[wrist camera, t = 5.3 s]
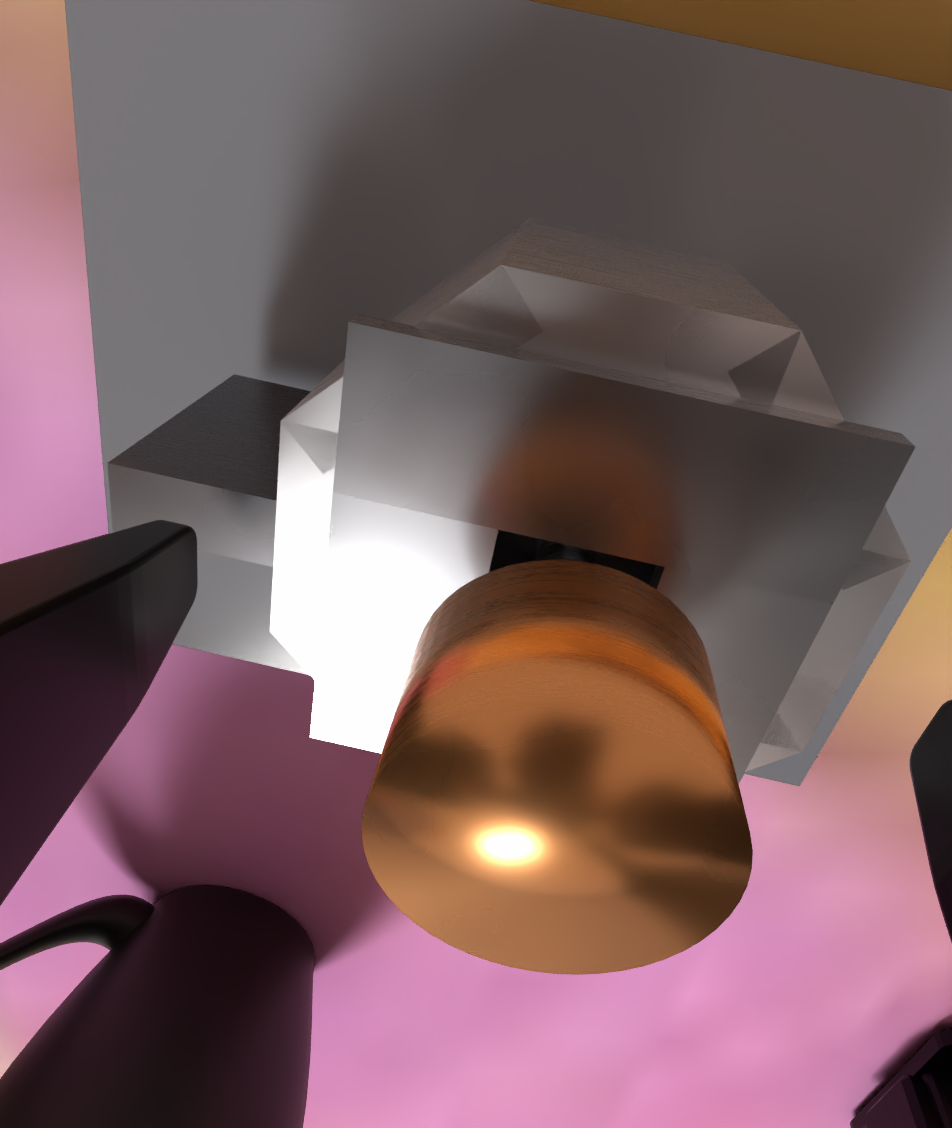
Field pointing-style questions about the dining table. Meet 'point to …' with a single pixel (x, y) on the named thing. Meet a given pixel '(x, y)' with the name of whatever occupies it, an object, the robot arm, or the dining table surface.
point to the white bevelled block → (550, 475)
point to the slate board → (490, 212)
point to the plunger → (559, 771)
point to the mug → (170, 1017)
